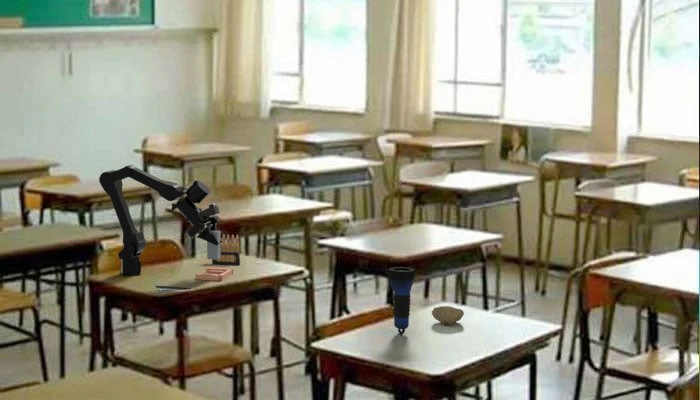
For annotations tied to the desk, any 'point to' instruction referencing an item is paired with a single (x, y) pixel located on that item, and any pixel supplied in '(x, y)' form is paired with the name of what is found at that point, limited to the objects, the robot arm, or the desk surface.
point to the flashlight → (401, 295)
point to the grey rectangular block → (214, 247)
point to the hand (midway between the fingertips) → (219, 243)
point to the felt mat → (170, 288)
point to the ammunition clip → (229, 252)
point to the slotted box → (215, 274)
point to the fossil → (447, 315)
